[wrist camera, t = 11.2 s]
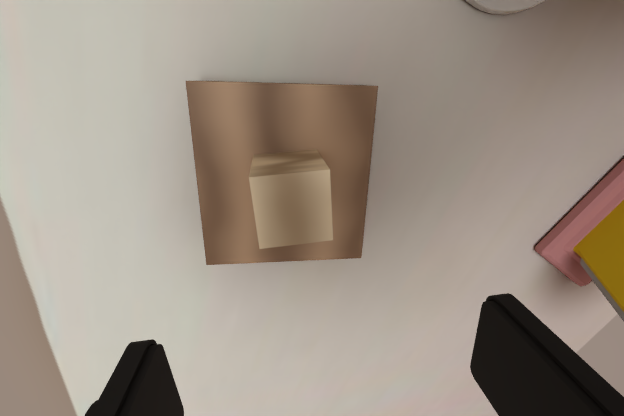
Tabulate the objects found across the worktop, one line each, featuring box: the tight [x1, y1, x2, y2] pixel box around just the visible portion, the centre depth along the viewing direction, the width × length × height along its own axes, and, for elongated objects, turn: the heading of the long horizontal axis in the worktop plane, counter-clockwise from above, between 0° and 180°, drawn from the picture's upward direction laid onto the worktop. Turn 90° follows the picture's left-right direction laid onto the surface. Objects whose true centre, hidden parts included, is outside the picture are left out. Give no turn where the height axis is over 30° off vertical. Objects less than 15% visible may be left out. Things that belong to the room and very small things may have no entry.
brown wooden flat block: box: [186, 81, 378, 265], centre depth 28 cm, size 14×15×5 cm
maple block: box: [249, 149, 333, 249], centre depth 23 cm, size 5×5×6 cm
